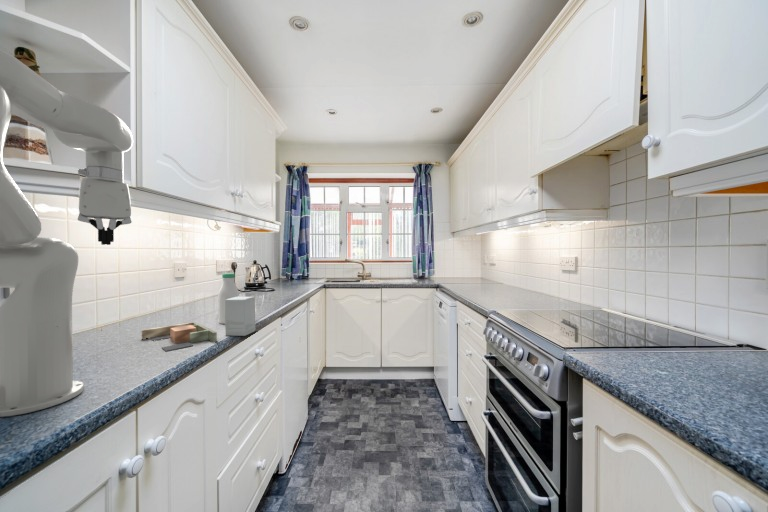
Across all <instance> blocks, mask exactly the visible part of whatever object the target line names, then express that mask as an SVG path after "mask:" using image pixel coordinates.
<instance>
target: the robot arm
mask: <svg viewBox="0 0 768 512" xmlns="http://www.w3.org/2000/svg"><path fill="white" fill-rule="evenodd" d="M12 114H13V115H15V116H17V117H19V118H21V119H23V120H25V121H26V122H28V123H30V124H33V125H34V126H36V127H40V128H43V129H47V130H52V133H53V134H54V137H55V138H57V140H58V141H59V142H60V143H61V144H64V145H65V146H67V147H69V148H72V149H75V150H78V151H82V152H85V168H78V169H79V170H78V169H77V174H79V175H82V176H84V178H82V179H81V183H80V188H79V197H78V213H79V214H78V217H77V221H78V222H82V223H87V224H90V225H91V226H93V227H94V228H95V229H96V230H97V241H98V242H101V243H100V244H101V245H102V246H103V245H107V246H108V245H109V246H111V243H114V240H115V239H114V237H115V236H114V234H115V233H114V231H115V230H116V229H117V228H118V227H119V226H123V225H124V226H125V225H130V224H132V223H133V222H132V218H131V215H132V206H131V204H132V203H131V195H130V189H129V185H128V183H125V182H124V181H125V180H124V175H125V174H124V167H125V165H124V164H125V163H124V153H125V152H128V151H130V150H131V149H132V147H133V143H134V138H133V134H132V131H131V129H130V128H129V127H128V126H127V124H126V123H125V122H124V121H123V120H122V119H121V118H119V117H118V116H117V115H116V114H114V113H113V112H112V111H110V110H108V109H106V108H104V107H102V106H100V105H97V104H94V103H93V102H89V101H87V100H84V99H82V98H79V97H77V96H75V95H73V94H70V93H67V92H64V91H61V90H59V89H58V88H57V87H56V86H54V85H53V84H52V83H50V82H49V81H47V80H46V79H45V78H43V77H42V76H41V75H39V74H38V73H37V72H35V71H34V70H33V69H31V68H30V67H29V66H28V65H26V64H25V63H23V62H22V61H21V60H19V59H18V58H17V57H15V56H14V55H12V54H10V53H9V52H7V51H6V50H3V49H0V289H2V288H4V289H5V288H9V289H10V288H11V289H13V290H12V292H10V294H9V296H8V297H7V298H6V299H5V300H3V302H2V304H1V305H0V418H4V417H13V416H18V415H24V414H28V413H33V412H37V411H40V410H44V409H47V408H50V407H54V406H57V405H61V404H63V403H65V402H68V401H69V400H71V399H73V398H75V397H77V396H78V395H79V396H80V394H82V392H83V391H84V389H85V388H84V387H85V384H84V382H82V381H80V380H79V381H78V380H74V363H73V362H74V360H73V359H74V356H73V353H74V349H73V348H74V347H73V346H74V345H73V341H74V339H73V291H74V290H73V289H74V284H75V280H76V275H77V271H78V267H79V254H78V251H77V249H76V248H75V247H74V246H73V245H71V244H70V243H68V242H66V241H65V240H62V239H61V240H60V239H57V238H53V237H52V238H51V237H40V234H41V231H42V222H41V219H40V218H39V215H38V214H37V212H36V210H35V209H34V208H33V205H31V202H30V201H29V200H28V199H27V198H26V196H25V195H24V193H23V192H22V190H21V188H20V187H19V186H18V185H17V183H16V181H14V179H13V178H12V175H11V174H10V172H9V171H8V170H7V168H6V166H5V164H4V161H3V149H4V143H5V139H6V134H7V132H8V128H9V124H10V123H11V122H10V121H11V118H12ZM104 219H105V220H109V221H108V226H107V228H105V226H104V223H103V220H104ZM38 236H39V237H38Z"/></svg>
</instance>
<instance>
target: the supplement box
mask: <svg viewBox="0 0 768 512" xmlns="http://www.w3.org/2000/svg"><path fill="white" fill-rule="evenodd" d="M224 325H225V336H227V337H228V336H235V337H237V336H239V337H241V336H243V337H246V336H248V335H250V334H252V333H254V332H256V297H255V296H239V297H233V298H230V299H226V300H225V324H224Z"/></svg>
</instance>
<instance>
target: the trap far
mask: <svg viewBox="0 0 768 512" xmlns="http://www.w3.org/2000/svg"><path fill="white" fill-rule="evenodd" d="M151 339H152V340H153V342H155V341H154V340H157V341H161V339H163V340H169V339H170V334H168V335H162V336H156V337H151ZM151 339H150V340H151ZM152 340H151V341H152Z"/></svg>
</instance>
